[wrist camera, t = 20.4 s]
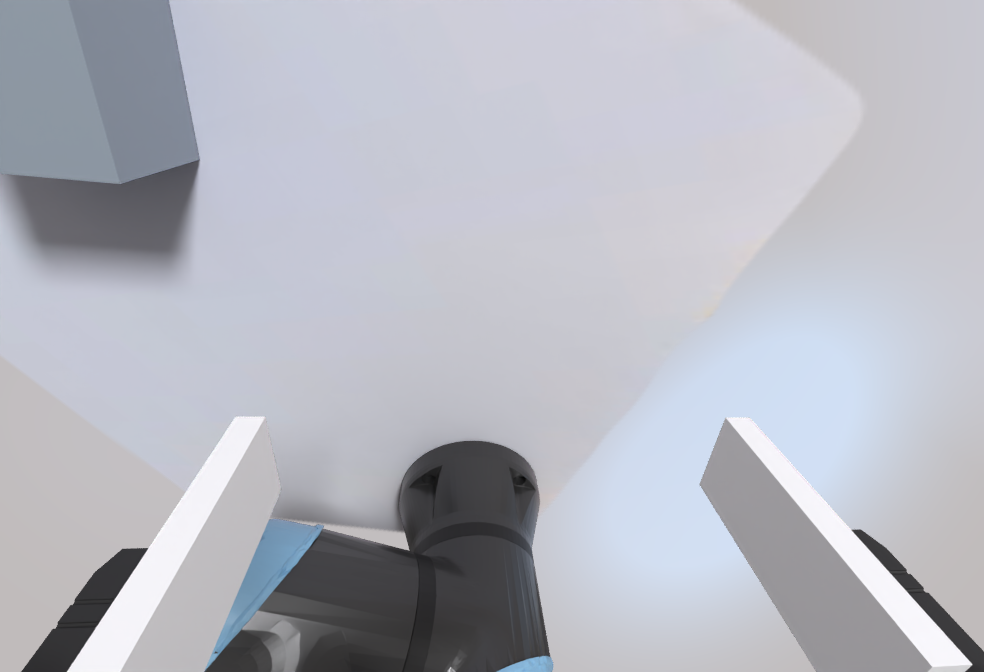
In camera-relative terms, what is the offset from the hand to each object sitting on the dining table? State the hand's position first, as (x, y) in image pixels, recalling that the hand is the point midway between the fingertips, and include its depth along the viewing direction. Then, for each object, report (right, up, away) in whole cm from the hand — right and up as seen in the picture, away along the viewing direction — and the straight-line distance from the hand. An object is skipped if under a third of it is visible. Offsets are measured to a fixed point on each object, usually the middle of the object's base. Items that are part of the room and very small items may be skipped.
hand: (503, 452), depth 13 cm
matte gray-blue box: (-26, +21, +16) cm, 37 cm away
